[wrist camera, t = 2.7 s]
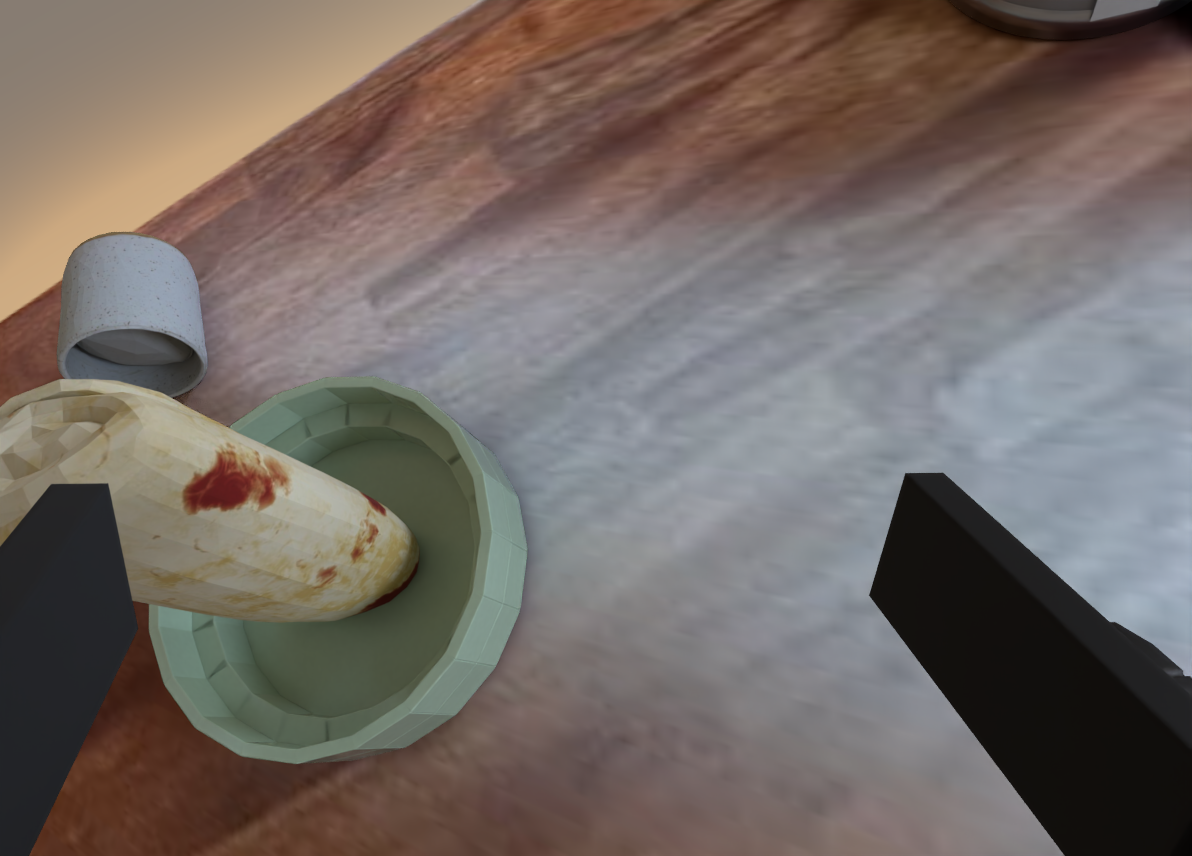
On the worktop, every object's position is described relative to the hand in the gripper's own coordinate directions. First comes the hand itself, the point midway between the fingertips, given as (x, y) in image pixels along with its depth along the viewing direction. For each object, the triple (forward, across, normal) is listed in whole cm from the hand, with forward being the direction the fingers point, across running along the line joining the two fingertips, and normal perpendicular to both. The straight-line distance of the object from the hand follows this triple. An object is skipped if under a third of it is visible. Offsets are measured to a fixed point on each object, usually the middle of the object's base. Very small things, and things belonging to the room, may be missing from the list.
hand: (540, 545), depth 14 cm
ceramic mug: (+42, -19, -13) cm, 47 cm away
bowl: (+25, -5, -19) cm, 32 cm away
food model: (+25, -5, -19) cm, 31 cm away
